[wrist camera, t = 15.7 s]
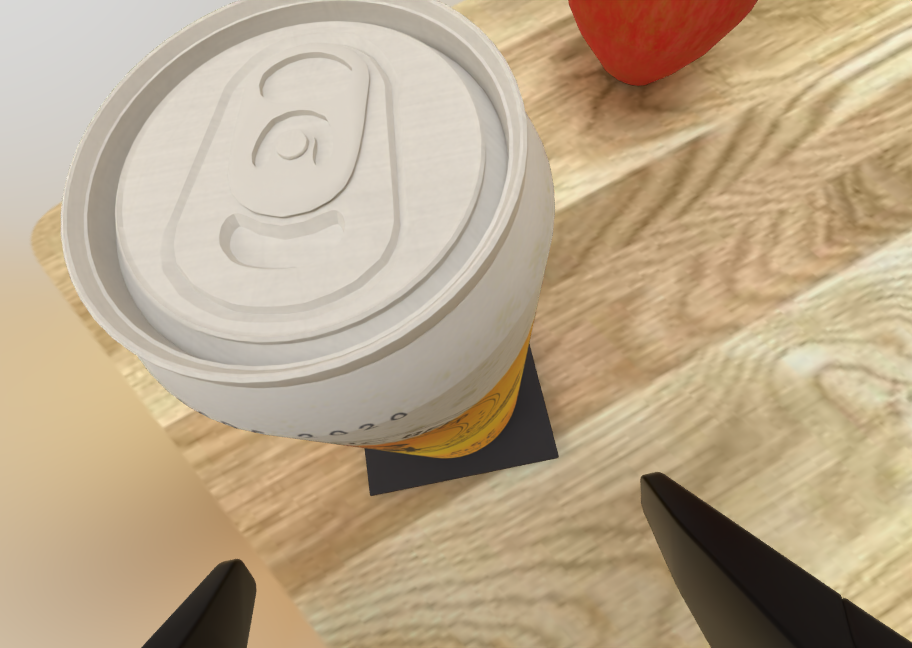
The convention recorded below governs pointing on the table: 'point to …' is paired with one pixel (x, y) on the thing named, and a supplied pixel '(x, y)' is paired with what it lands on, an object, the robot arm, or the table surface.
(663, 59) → the apple
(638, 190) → the table surface
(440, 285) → the beer can
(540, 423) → the mat
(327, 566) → the table surface
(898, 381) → the table surface
